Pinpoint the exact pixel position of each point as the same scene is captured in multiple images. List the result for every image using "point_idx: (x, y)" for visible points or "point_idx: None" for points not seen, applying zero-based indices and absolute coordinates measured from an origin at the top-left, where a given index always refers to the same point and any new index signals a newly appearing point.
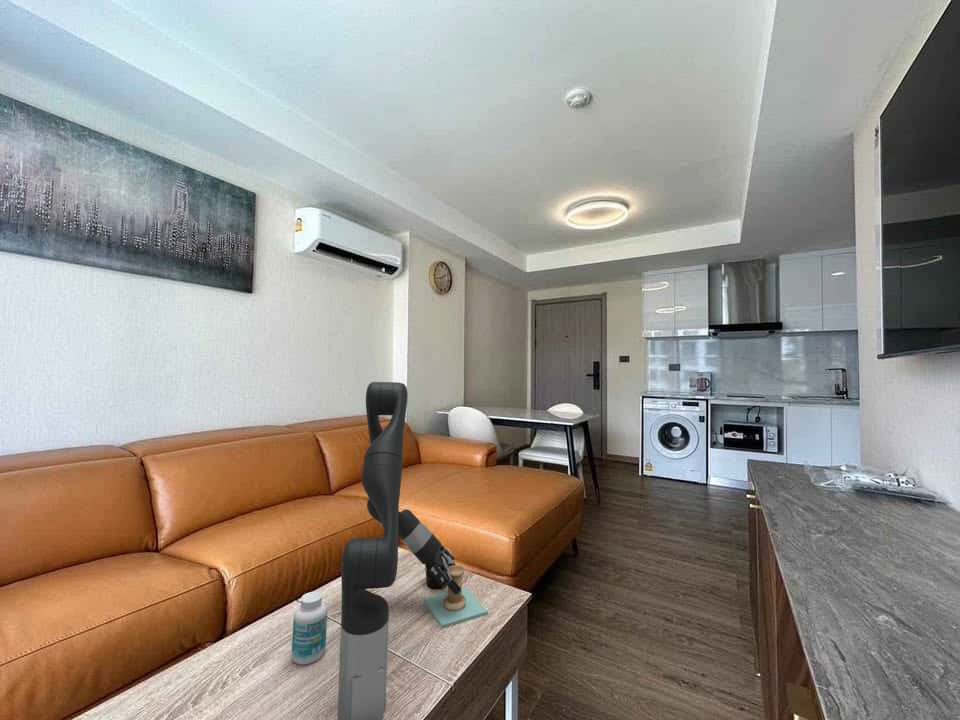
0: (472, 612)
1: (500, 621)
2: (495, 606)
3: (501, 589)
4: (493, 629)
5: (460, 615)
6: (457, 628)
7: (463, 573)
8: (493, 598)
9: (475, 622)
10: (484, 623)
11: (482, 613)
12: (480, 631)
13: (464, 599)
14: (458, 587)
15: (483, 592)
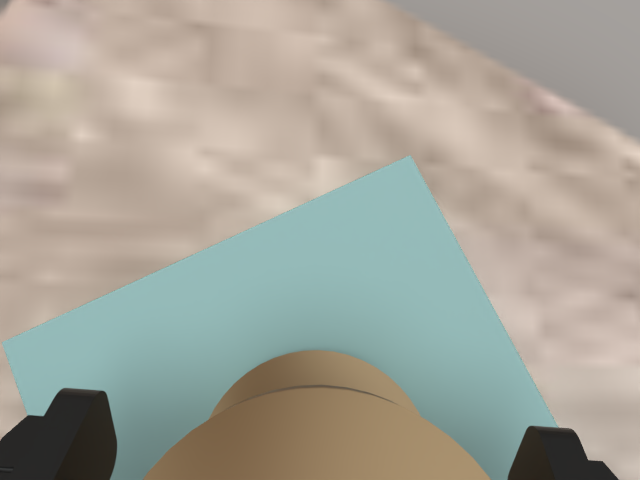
0: (434, 287)
1: (495, 78)
2: (300, 96)
3: (50, 26)
4: (595, 136)
5: (484, 398)
6: (611, 422)
7: (381, 398)
8: (183, 102)
9: (520, 268)
10: (528, 197)
11: (433, 202)
12: (629, 233)
13: (314, 360)
14: (587, 475)
15: (81, 178)
